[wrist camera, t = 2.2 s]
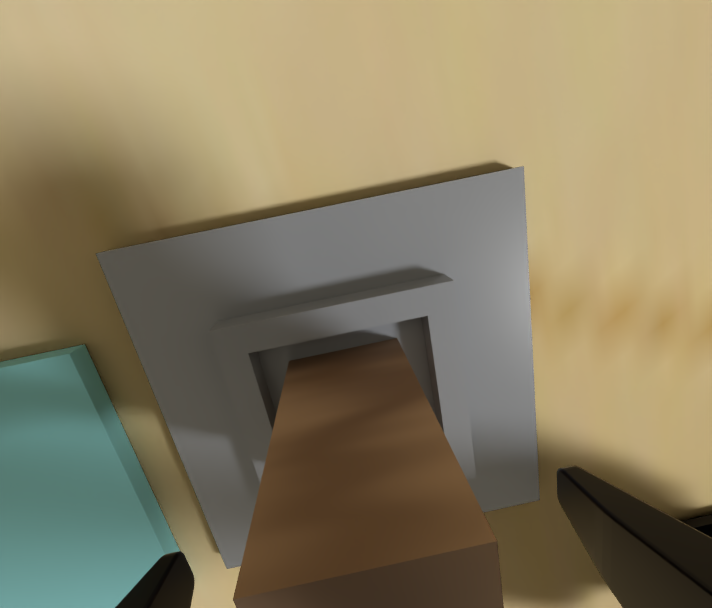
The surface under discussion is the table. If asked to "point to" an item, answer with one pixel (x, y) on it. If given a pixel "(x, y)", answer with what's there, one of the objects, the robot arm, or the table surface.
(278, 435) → the walnut block
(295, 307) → the holder
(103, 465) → the mat
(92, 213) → the table surface
